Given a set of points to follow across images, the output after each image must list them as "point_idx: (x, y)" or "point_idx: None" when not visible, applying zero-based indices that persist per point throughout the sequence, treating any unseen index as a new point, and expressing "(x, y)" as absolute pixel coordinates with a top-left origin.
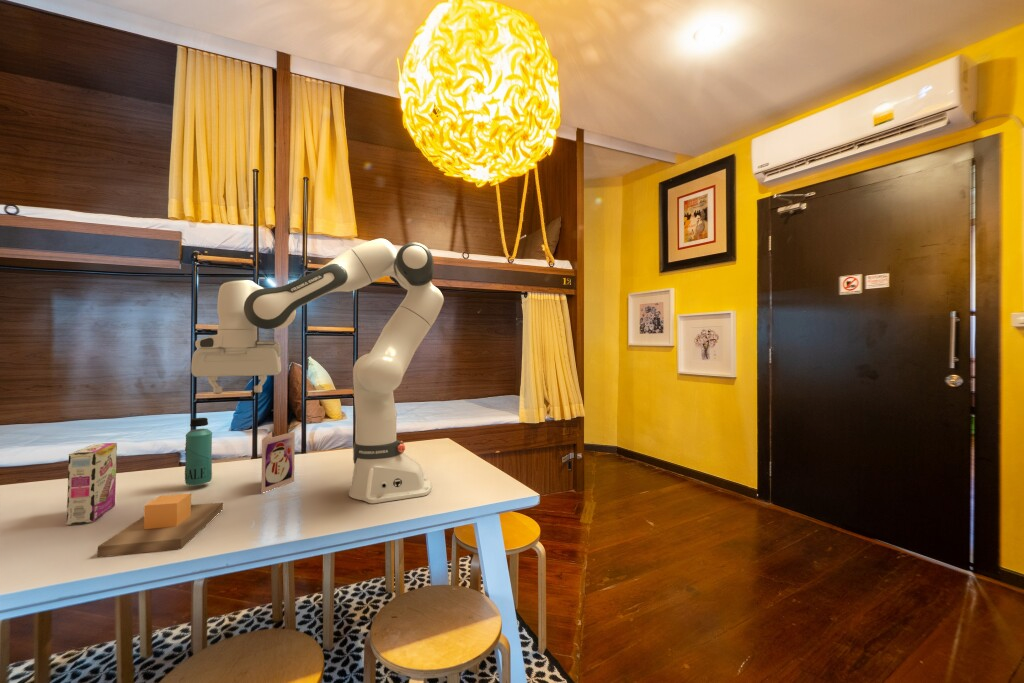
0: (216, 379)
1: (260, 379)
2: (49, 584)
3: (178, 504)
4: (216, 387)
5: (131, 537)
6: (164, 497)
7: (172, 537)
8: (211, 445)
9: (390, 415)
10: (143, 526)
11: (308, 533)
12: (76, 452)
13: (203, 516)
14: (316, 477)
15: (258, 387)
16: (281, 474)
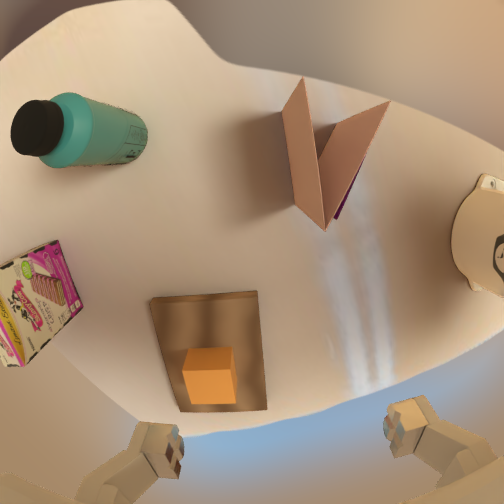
0: (125, 501)
1: (444, 480)
2: (186, 435)
3: (235, 397)
4: (161, 477)
5: None
6: (196, 379)
7: (253, 406)
8: (110, 119)
9: None
10: None
11: (402, 373)
12: (5, 361)
13: (257, 354)
14: None
15: (415, 444)
16: (327, 156)
